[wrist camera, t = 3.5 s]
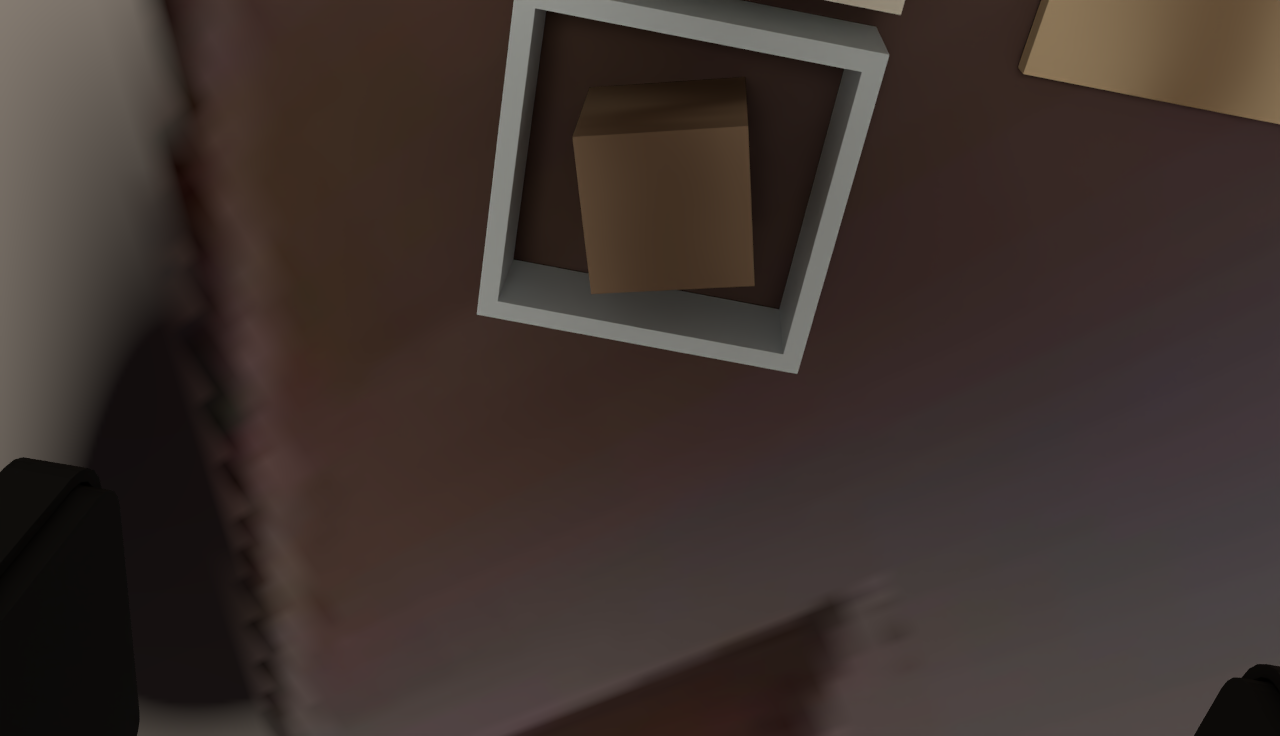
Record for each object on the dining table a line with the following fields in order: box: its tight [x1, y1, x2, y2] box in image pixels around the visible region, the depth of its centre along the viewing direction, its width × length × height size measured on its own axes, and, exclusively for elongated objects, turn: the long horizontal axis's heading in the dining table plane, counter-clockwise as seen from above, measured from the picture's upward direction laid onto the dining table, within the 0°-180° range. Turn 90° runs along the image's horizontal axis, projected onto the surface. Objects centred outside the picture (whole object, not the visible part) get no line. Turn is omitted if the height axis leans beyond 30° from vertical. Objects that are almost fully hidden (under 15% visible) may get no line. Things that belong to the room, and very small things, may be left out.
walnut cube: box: [572, 77, 755, 294], centre depth 29 cm, size 4×4×4 cm
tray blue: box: [477, 0, 889, 374], centre depth 29 cm, size 9×9×3 cm
